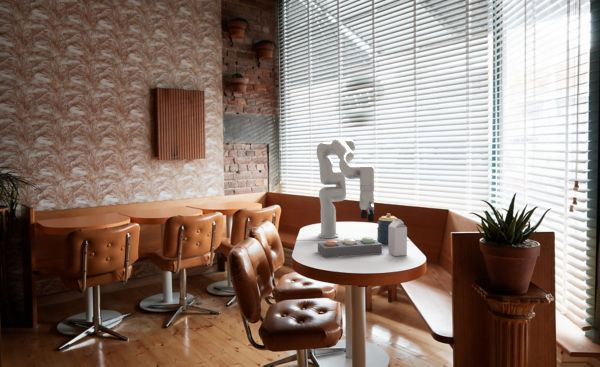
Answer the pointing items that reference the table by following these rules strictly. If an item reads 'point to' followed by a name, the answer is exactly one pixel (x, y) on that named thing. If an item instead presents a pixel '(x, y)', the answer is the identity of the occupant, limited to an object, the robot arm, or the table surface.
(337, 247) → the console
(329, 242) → the button terracotta
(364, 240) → the button sage
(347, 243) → the button cream
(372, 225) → the table surface
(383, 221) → the canister
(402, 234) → the milk carton
